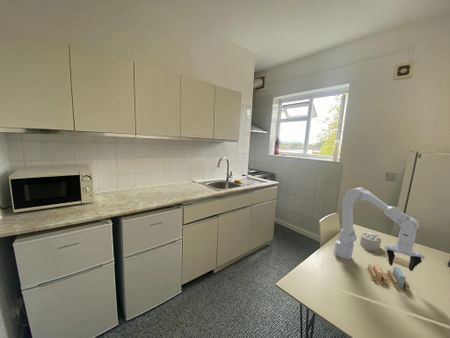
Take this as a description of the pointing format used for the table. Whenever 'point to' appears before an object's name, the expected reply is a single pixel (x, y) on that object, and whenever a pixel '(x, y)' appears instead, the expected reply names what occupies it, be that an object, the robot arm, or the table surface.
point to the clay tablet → (401, 261)
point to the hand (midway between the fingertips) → (400, 267)
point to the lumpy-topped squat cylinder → (370, 241)
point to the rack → (387, 279)
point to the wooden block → (377, 272)
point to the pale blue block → (399, 276)
